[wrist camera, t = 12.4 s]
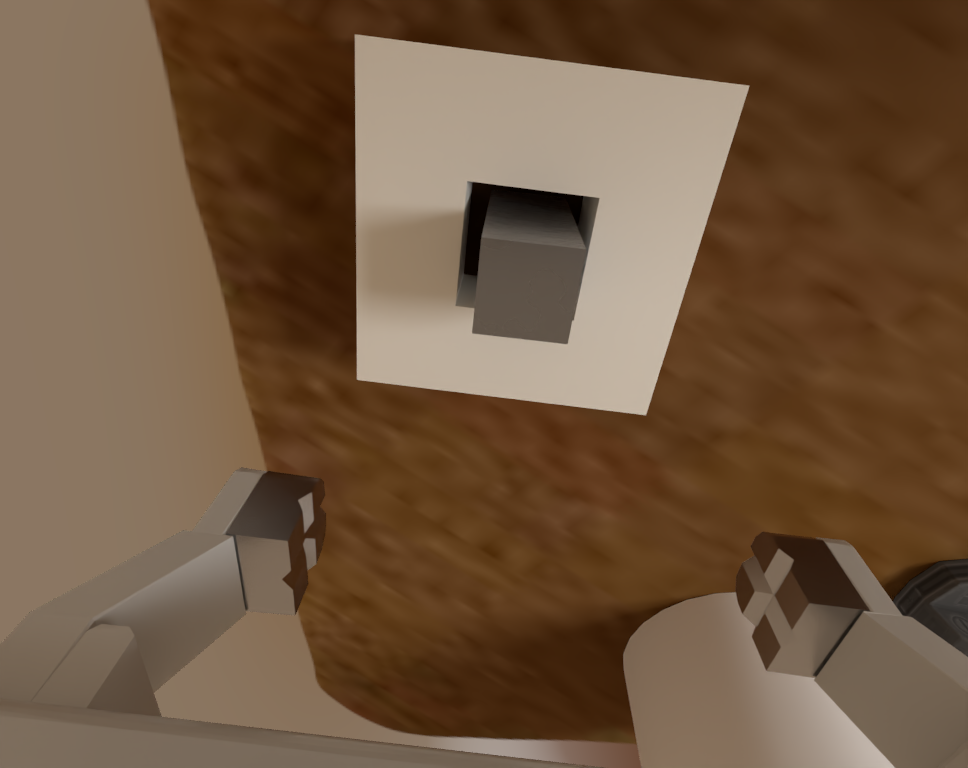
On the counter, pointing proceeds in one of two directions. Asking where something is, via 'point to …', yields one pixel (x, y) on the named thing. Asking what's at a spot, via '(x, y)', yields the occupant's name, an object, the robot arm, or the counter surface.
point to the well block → (539, 166)
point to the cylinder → (729, 698)
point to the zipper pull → (939, 601)
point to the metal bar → (528, 268)
